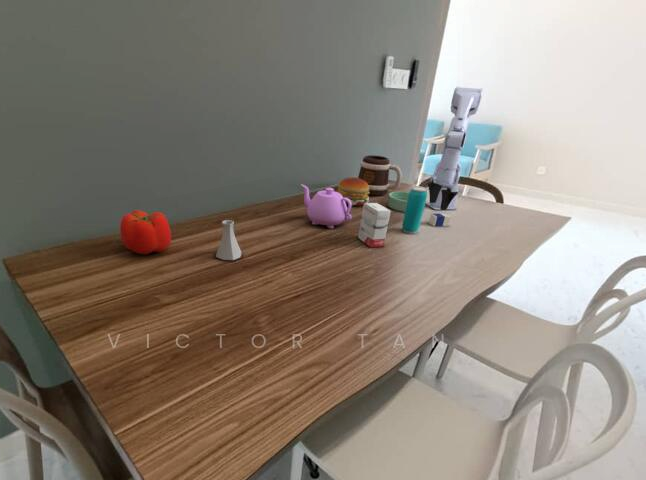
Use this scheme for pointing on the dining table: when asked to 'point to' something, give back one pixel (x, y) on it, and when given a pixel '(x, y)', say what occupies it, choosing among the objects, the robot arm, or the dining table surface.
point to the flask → (228, 243)
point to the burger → (354, 190)
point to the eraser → (439, 219)
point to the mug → (378, 174)
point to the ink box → (374, 224)
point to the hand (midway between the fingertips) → (437, 205)
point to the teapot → (327, 207)
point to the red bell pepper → (145, 232)
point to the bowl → (398, 200)
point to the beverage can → (414, 209)
